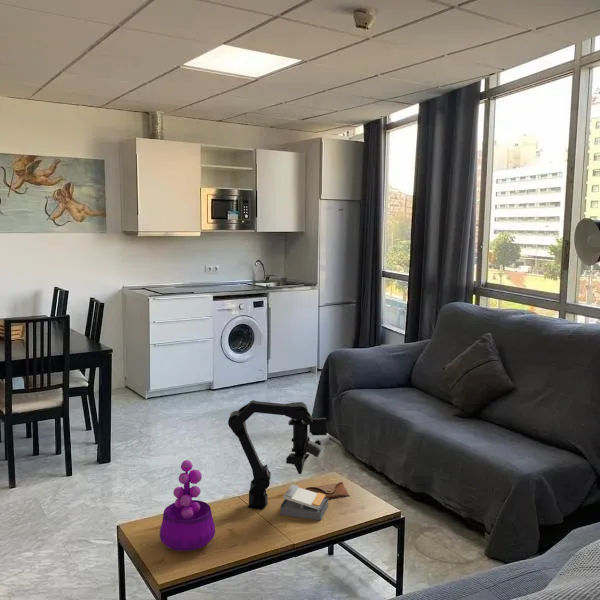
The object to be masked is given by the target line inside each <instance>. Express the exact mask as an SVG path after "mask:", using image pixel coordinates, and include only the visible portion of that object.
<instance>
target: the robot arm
mask: <svg viewBox="0 0 600 600" xmlns="http://www.w3.org/2000/svg"><path fill="white" fill-rule="evenodd" d="M255 413H258V414H267V415H278V416H285V417H287V418H290V419H289V420H288V426H292V438H291V442H292V448H291V452H293V453H289V454H288V455H287V457H286V460H285V463H286V464H289V465H294V468H295V469H296V472H297V474H299V475H302V474H303V471H304V467H305V462H306V461H307V459H308V458H309V456H310V455H312V456H313V457H315V458H318V457H319V456H320V454H321V452H322V449H323V445H322V441H321V440H319V439H316V440H315V441H311V438H310V436H309V434H310V435H312V436H327V434H328V430H327V429H328V428H327V418H326V417H317V418H316V417H312V415H311V413H310V412H309V411H308V406H307V404H306V403H304V402H302V401H296V402H290V403H279V402H269V401H268V402H267V401H260V400H259V401H257V400H255V399H254V400H250V401H249V402H248V403H247V404H245V405H244V406H242V407H240V408H239V409H237V410H233V411H232V412H230V415H229V417H228V421H227V424H228V426H229V429H230V430H231V431H232V433H233V434H234V435H235V436H236V437H237V439H238V441H239V443H240V445H241V447H242V450H243V452H244V454H245V456H246V458H247V461H248V463H249V465H250V467H251V472H252V477H253V479H251V481H250V485H249V491H248V504H247V509H253V510H260V511H262V510H264V509H265V508H266V506H268V504H269V501H268V499H269V498H268V495H269V494H268V493H267V489H268V488H270V486H271V485H270V484H271V483H270V482H271V478H272V477H271V476H272V475H271V471H270V470H269V467H268V464H265V465H264V464H263V463H262V462H261V460H260V458H259V455H258V453H257V451H256V448H255V447H254V444H253V442H252V439H251V437H250V435H249V433H248V430H247V425H246V421H247V420H249V418H250V417H251V416H253V415H254V414H255ZM308 428H309V429H308ZM308 431H309V432H308ZM308 433H309V434H308Z"/></svg>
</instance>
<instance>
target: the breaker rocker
mask: <svg viewBox="0 0 600 600" xmlns="http://www.w3.org/2000/svg"><path fill="white" fill-rule="evenodd" d="M283 499H284V500H285V499H287V500H290V501H293V502H296V503H299V504H302V505H305V506H308V507H311V508H314V509H317V510H319V508H320V506H321V504H322V502H323V501H324V499H325V494H322V493H319V492H318V493H315V492H312V491H309V490H306V488H302V487H300V486H299V485H296V484H293V483H292V484H291V485H290V487H289V488H288V489H287V490H286V492H284V494H283Z"/></svg>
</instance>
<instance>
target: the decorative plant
mask: <svg viewBox="0 0 600 600" xmlns="http://www.w3.org/2000/svg"><path fill="white" fill-rule="evenodd" d="M192 468H193V463H192V461H190V460H188V459H185V460H184V461H182V462H181V465H180V469H181V470H182V472H181V473H180V474H179V476H178V482H179V483H180V484H182V485H183V487H182V486H177V487H175V488H174V490H173V496H174V497H175V498H176V499H175V502H173V503H171V504H169V505H168V506H166V508H165V509H164V510H163V514H162V520H161V525H160V529H159V539H160V542H161V543H163V544H164V546H165V547H167V548H168V549H170V550H173V551H178V552H179V551H180V552H186V551H187V552H188V551H195V550H199V549H201V548H203V547H205V546H207V545H208V544H209V543H210V542H211V541H212V540H213V539H214V537H215V535H216V525H215V522H214V519H213V514H212V508H211V506H210V504H208V503H207V502H204V501H203V500H196V499H193V498H198V497H199V496H200V494H201V488H200V487H199V486H197V484H198V483H200V482H201V481H202V476H203V475H202V472H201V471H200V470H198V469H192ZM191 484H193V485H192V486H191ZM195 484H196V485H195Z"/></svg>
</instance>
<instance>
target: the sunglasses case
mask: <svg viewBox="0 0 600 600" xmlns="http://www.w3.org/2000/svg"><path fill="white" fill-rule="evenodd" d="M305 489H306V490H309V491H312V492H315V493H318V492H319V493H322V494H325V499H326V498H328V501H329V500H334V499H340V498H339V497H341V498H347V497H346V496H348V497H350V496H351V495H350V494H349V493H348V491H347V488H346V487H345V485H344V482H343V481H341V482H337V483H331V484H330V483H329V484H324V485H319V486H318V485H317V486H309V487H306V488H305Z"/></svg>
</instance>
